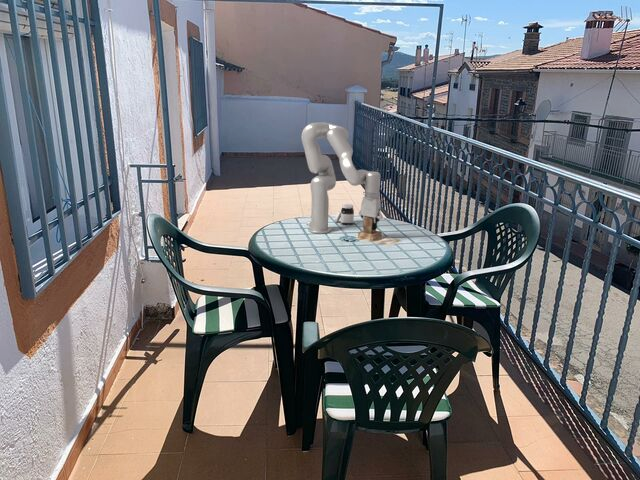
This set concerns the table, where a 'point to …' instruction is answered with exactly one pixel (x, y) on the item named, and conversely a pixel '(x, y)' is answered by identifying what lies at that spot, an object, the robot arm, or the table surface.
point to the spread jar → (346, 215)
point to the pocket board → (377, 238)
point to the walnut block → (368, 225)
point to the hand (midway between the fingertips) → (369, 228)
